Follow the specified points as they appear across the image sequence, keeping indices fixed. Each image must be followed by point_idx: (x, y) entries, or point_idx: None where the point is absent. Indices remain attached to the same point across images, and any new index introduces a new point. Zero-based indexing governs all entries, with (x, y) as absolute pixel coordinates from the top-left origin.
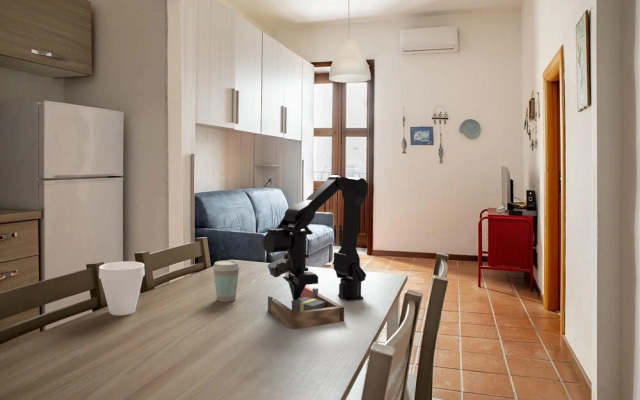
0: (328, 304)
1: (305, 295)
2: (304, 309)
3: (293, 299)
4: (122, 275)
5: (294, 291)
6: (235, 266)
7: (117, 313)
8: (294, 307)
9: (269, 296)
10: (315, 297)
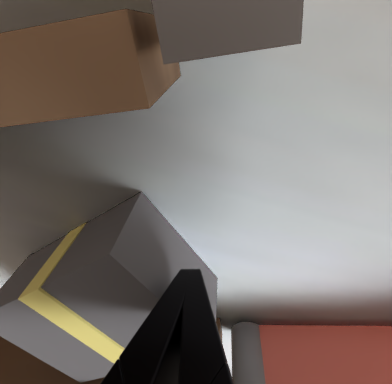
0: (52, 374)
1: (373, 355)
2: (41, 266)
3: (186, 279)
4: None
5: (113, 370)
6: None
7: None
8: (104, 230)
9: (244, 3)
10: None
